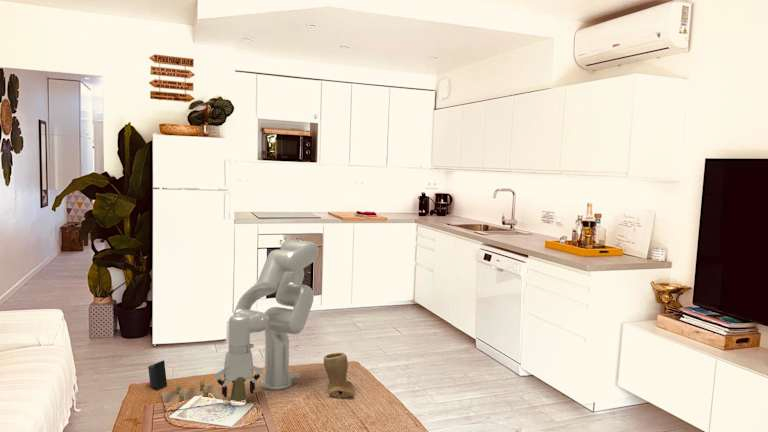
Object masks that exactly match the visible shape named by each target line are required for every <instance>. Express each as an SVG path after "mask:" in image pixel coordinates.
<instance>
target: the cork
mask: <svg viewBox="0 0 768 432" xmlns="http://www.w3.org/2000/svg"><path fill="white" fill-rule="evenodd" d="M246 381H247V379H244V378H243V377H239V378H237V379H236V380H235V381H231V383H232V387H231V394H230V400H236V401H241V400H245V399H246V400H247V394H246V385H245V382H246Z"/></svg>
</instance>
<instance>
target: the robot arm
mask: <svg viewBox="0 0 768 432" xmlns="http://www.w3.org/2000/svg"><path fill="white" fill-rule="evenodd" d="M319 251H320V250H319V247H318V245H317V244H316V243H315V242H313V241H307V240H306V241H305V240H295V239H294V240H293V239H292V240H291V239H290V240H285V241H283V242H282V244H281V246H280V248H279V249H274V250H271V251H270V252H269V253H268V255H267V257H266V259H265V262H264V264H263V267H262V269H261V272H260V274H259V277H258V280H257V281H256V282H255V284H253V286H251V287H249V288H248V289H247V290H246V292H244V293H243V294H242V296H241V297H240V298H239V300H238V302H237V304H236V307H235V309H234V311H233V314H232V315H231V316H230V317H229V319H228V351H227V352H226V353H225V358H224V362H223V363H224V365H223V366H224V367H223V369H222V370H219V371H218V372H217V373H215V374H214V376H213V377H214V378H215V380H216V382H217V383H218V384H219V385H220V386H221V395H222V396H223V397H224V398H225V399H226V398H227V397H228V387H227V385H228V384H229V383H230V382H232V381H235V380H236V379H237V378H239V377H243V378H244V379H246V380H249V393H250V394H253V395H254V391H255V390H256V382H257V380H258V379H259V378H260V377H261V375H262V372H263V369H262V368H261V367H258V366H255V365H254V362H253V354H252V350H251V349H253V348H254V344H253V343H251V341H250V340H251V334H253V333H261V332H264V337H265V343H264V345H265V347H264V351H265V352H264V379H262V380H261V381H260V387H262V388H263V389H265V390H272V391H278V390H279V391H280V390H284V389H288V388H290V387H291V386H292V385H293V379H294V380H295V379H300V378H301V374H300V373H298V372H297V373H296V372H295V371H294V372H290V369H289V367H290V362H289V361H290V339H289V336H288V334H290V335H298V334H300V333H301V332H303V331H304V328H305V326H306V324H307V321H308V318H309V315H310V311H311V310H312V307H313V303H314V298H315V297H314V291H313V288H311V286H310V285H308V284H303V281H304V277H305V270H304V269H305V268H306V267H309V265H311V264H312V263H314V262H315V261H316V260H317V258H318V256H319V253H320V252H319ZM274 293H276V294H275V301H276V303H277V304H279V305H281V306H285V307H290V308H285V307H279V306H273V307H269V308H268V309H266V310H265V312H262V311H257V310H252V309H251V308H252V307H253V305H254V304H255V303H256V302H257V301H259V300H260V299H261V298H264V297H266V296H269V295H272V294H274ZM254 371H255V372H256V374H255V375H254ZM221 376H223V377H224V378H223V379H221V378H220V377H221Z"/></svg>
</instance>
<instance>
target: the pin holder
mask: <svg viewBox="0 0 768 432" xmlns="http://www.w3.org/2000/svg"><path fill="white" fill-rule="evenodd" d="M208 393H211V394H213V396H214V397H215V398H217V399H223V400H224V398H223V397H224V396H223V395H222V392H220V389H219V387H218V386H217V384H213V385H205V379H203V378H202V379H200V380H199V386H198V387H190V388H183V389H182V382H181V381H180V382H179V381H178V382H176V389H174V390H168V391H161V393H160V395H161V400H162V404H163V403H169V402H182V401H185V400H189V399H191V398H192V397H194V396H198V395H202V394H203V397H208Z"/></svg>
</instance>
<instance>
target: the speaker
mask: <svg viewBox="0 0 768 432" xmlns="http://www.w3.org/2000/svg"><path fill="white" fill-rule="evenodd" d="M147 368H148V377H149V386H150V388H155V389H156V391H159V390H162V389H164V388H166V387H168V382H167V381H168V380H167V374H166V363H165V360H164V359H163V360H161V361H158V362H156V363H153V364H150V365H149V366H147Z"/></svg>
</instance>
